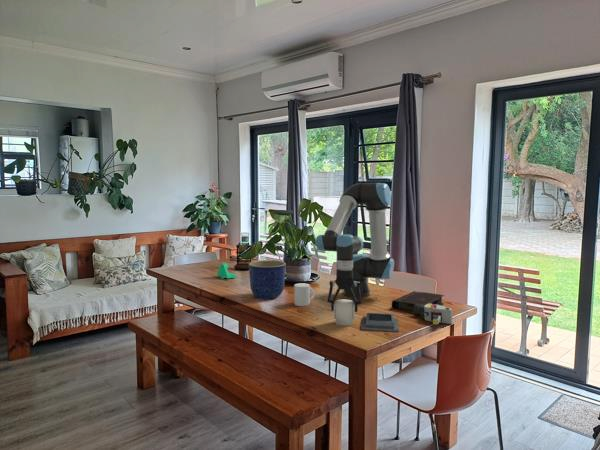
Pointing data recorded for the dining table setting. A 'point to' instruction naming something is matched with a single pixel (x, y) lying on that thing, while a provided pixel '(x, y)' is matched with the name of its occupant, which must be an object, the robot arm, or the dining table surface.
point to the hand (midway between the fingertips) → (344, 318)
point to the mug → (302, 294)
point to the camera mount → (225, 271)
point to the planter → (267, 278)
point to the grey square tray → (380, 322)
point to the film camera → (434, 313)
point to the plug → (344, 312)
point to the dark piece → (241, 265)
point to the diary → (416, 300)
